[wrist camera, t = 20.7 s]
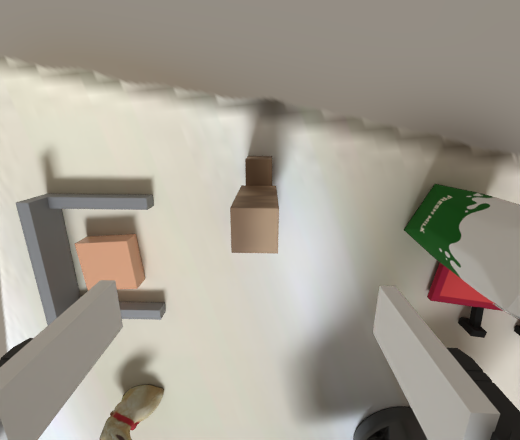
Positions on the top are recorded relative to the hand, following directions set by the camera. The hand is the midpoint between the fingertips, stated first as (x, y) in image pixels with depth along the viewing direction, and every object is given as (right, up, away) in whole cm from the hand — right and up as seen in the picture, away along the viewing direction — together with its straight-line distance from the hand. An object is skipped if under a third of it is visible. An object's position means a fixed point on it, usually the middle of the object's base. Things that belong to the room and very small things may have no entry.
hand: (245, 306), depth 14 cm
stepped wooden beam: (+1, +8, +23) cm, 24 cm away
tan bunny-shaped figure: (-19, -26, +34) cm, 47 cm away
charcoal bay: (-20, -1, +26) cm, 33 cm away
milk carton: (+25, +5, +24) cm, 34 cm away
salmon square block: (-20, -1, +27) cm, 33 cm away
